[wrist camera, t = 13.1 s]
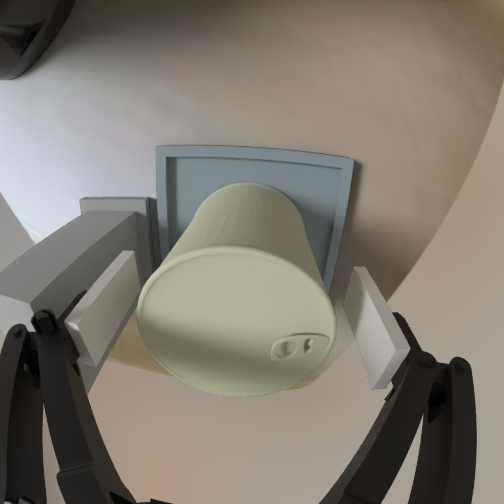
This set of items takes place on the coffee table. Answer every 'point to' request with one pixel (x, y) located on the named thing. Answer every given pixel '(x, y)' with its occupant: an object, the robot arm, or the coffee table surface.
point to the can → (239, 298)
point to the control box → (78, 264)
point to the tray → (263, 172)
